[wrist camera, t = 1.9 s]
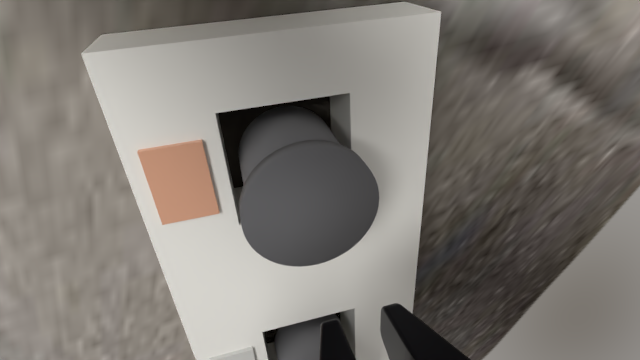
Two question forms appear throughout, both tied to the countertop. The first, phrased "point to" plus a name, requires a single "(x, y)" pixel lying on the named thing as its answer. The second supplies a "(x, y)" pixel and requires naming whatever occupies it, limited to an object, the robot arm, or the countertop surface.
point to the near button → (302, 189)
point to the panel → (223, 199)
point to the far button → (300, 339)
